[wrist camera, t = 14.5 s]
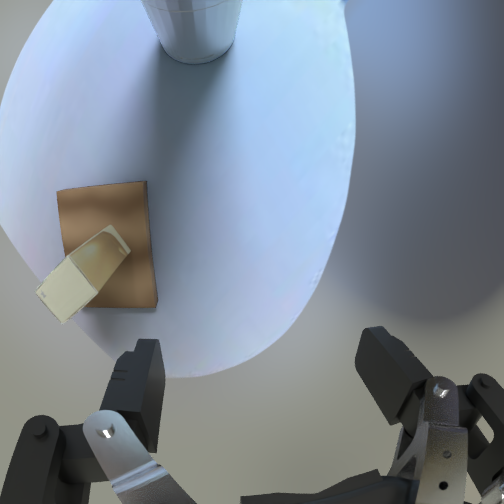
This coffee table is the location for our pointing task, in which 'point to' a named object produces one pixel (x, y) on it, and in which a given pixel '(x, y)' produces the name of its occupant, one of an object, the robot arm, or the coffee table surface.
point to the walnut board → (128, 227)
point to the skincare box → (82, 274)
